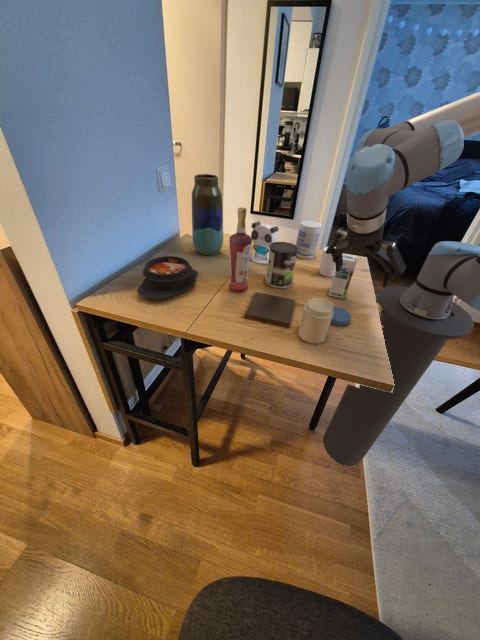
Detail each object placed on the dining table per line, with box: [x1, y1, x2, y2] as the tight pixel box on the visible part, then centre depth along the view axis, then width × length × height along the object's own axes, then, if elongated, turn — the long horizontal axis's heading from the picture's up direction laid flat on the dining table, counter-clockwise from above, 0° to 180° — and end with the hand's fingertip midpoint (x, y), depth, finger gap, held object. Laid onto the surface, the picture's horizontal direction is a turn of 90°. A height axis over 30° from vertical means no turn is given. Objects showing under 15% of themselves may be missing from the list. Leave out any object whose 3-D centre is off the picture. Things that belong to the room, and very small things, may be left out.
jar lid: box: [330, 305, 352, 327], centre depth 83 cm, size 8×8×2 cm
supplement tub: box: [295, 220, 323, 260], centre depth 118 cm, size 10×10×15 cm
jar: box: [297, 297, 334, 344], centre depth 73 cm, size 8×8×10 cm
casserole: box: [136, 255, 199, 300], centre depth 92 cm, size 25×19×8 cm
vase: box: [191, 173, 225, 256], centre depth 111 cm, size 14×14×31 cm
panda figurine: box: [250, 221, 279, 265], centre depth 113 cm, size 12×11×15 cm
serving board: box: [244, 291, 296, 328], centre depth 85 cm, size 14×14×2 cm
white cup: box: [318, 246, 337, 278], centre depth 106 cm, size 8×8×10 cm
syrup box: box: [328, 253, 358, 300], centre depth 91 cm, size 6×6×14 cm
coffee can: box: [265, 241, 298, 289], centre depth 97 cm, size 10×10×14 cm
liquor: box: [228, 207, 253, 293], centre depth 87 cm, size 7×7×28 cm
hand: (361, 275), depth 75 cm, fingers open, 13 cm apart
